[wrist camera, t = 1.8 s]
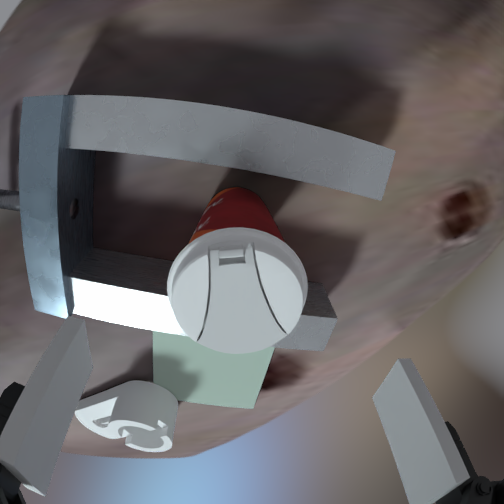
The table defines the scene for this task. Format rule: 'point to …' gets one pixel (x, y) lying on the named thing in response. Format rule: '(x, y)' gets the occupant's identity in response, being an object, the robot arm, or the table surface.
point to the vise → (169, 146)
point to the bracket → (132, 415)
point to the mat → (207, 372)
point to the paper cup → (237, 277)
